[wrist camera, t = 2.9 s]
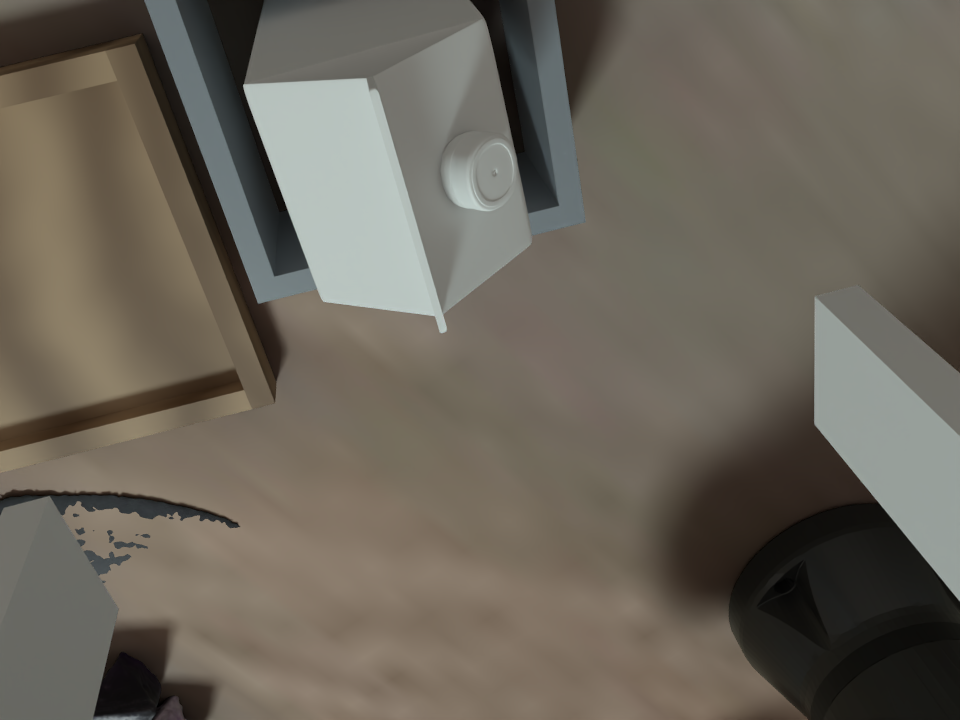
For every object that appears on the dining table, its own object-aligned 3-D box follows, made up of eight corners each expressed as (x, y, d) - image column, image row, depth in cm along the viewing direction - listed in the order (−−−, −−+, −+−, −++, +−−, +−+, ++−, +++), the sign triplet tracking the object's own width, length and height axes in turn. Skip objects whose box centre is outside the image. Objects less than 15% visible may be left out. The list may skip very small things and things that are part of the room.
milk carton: (317, 152, 42) (323, 367, 26) (263, -8, 38) (229, 127, 22) (466, 110, 42) (564, 299, 26) (427, -53, 38) (514, 49, 22)
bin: (495, -162, 36) (532, -156, 30) (548, 166, 44) (585, 222, 38) (152, -82, 36) (121, -60, 30) (265, 236, 43) (258, 303, 37)
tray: (142, 33, 38) (134, 43, 36) (276, 382, 47) (274, 403, 46) (-336, 147, 37) (-367, 163, 35) (-102, 477, 47) (-117, 502, 45)
